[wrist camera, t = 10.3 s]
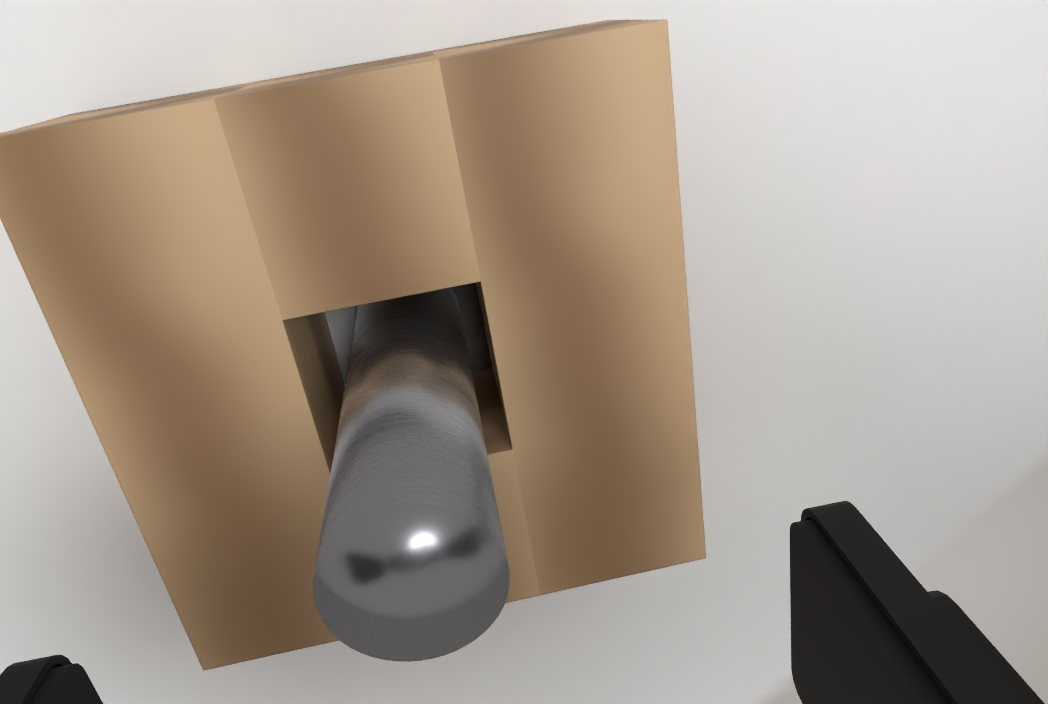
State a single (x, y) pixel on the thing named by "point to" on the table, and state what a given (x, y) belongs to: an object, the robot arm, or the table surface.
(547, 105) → the hole block
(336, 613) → the peg
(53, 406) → the table surface
